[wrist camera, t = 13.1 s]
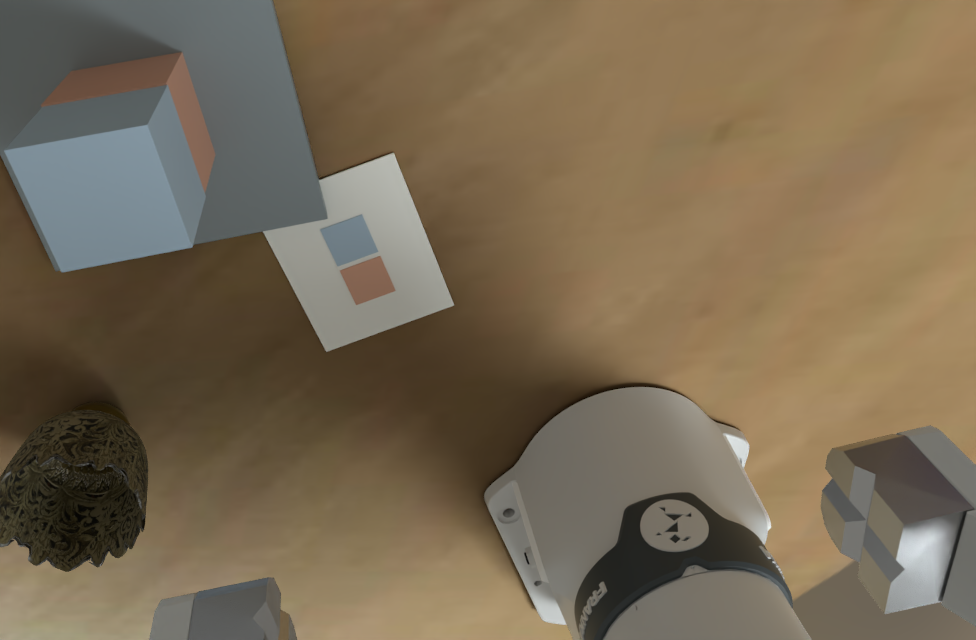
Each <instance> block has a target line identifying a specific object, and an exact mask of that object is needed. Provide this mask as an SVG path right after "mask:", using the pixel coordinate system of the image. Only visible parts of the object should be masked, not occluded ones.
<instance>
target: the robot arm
mask: <svg viewBox="0 0 976 640" xmlns="http://www.w3.org/2000/svg"><path fill="white" fill-rule="evenodd" d="M748 453H749V444H748V442H747V440H746V438H745V436H744V434H743V433H742V432H741V431H740V430H738V429H735V428H733V427H730V426H727V425H724V424H720V423H716V422H715V421H713V420H712V419H710V418H709V417H708V416H707V415H706V414H705V413H704V412H703V411H702V410H701V409H700V408H699V407H698V406H697V405H696V404H695V403H693V402H692V401H691V400H689V399H687V398H686V397H684V396H682V395H680V394H677V393H674V392H672V391H668V390H664V389H659V388H652V387H629V388H621V389H615V390H611V391H607V392H603V393H600V394H597V395H594V396H591V397H589V398H586V399H584V400H582V401H580V402H578V403H576V404H574V405H572V406H570V407H569V408H567V409H565V410H564V411H562V412H561V413H559V414H558V415H557V416H555V417H554V418H553V419H552V420H550V421H549V422H548V423H547V424H546V425H545V426H544V427H543V428H542V429H541V430H540V431H539V432H538V433H537V434H536V435H535V437H534V438H533V439H532V440H531V442H530V443H529V445H528V446H527V448H526V450H525V451H524V453H523V454H522V456H521V458H520V459H519V460H518V462H517V463H516V464H515V465H514V467H513V468H511V469H510V470H509V471H507V472H506V473H505V474H503V475H502V476H501V477H499V478H498V479H497V480H496V481H494V482H493V483H492V484H491V485H490V486H489V487H488V489H487V490H486V492H485V494H484V499H485V502H486V505H487V507H488V509H489V512H490V514H491V516H492V518H493V520H494V522H495V524H496V526H497V528H498V531H499V533H500V535H501V537H502V539H503V541H504V543H505V545H506V547H507V549H508V551H509V553H510V556H511V558H512V560H513V562H514V564H515V566H516V568H517V570H518V572H519V574H520V576H521V579H522V581H523V583H524V585H525V587H526V589H527V591H528V593H529V595H530V597H531V599H532V601H533V604H534V606H535V608H536V610H537V612H538V614H539V616H540V617H541V619H542V620H543V621H545V622H549V623H554V624H562V625H567V627H568V629H569V631H570V633H571V636H572V638H573V640H811V638H810V637H809V635H808V634H807V632H806V630H805V629H804V627H803V626H802V624H801V622H800V621H799V619H798V617H797V616H796V614H795V612H794V611H793V603H792V596H791V593H790V590H789V588H788V587H787V585H786V583H785V580H784V576H783V574H782V571H781V570H780V568H779V566H778V564H777V563H776V561H775V559H774V558H773V557H772V555H771V554H770V553H769V552H768V551H767V549H766V548H765V546H764V544H765V542H766V539H767V533H768V530H769V529H770V528H771V523H770V519H769V516H768V514H767V512H766V510H765V508H764V506H763V504H762V502H761V500H760V499H759V497H758V495H757V493H756V491H755V489H754V487H753V485H752V483H751V481H750V480H749V478H748V476H747V474H746V472H745V470H744V466H745V463H746V459H747V456H748ZM825 469H826V470H827V471H828V473H829V474H830V475H831V477H832V480H831V481H830V482H829V483H828V484H827V485H826V487H825V488H824V489H823V490H822V499H821V511H822V515H823V519H824V524H825V527H826V529H827V531H828V533H829V535H830V537H831V539H832V541H833V542H834V544H835V545H836V547H837V548H838V550H839V551H840V553H842V554H844V555H846V556H848V557H850V558H852V559H854V560H856V561H858V562H859V570H858V578H859V579H860V581H861V582H862V584H863V585H864V586H865V588H866V589H867V591H868V592H869V593H870V595H871V596H872V598H873V599H874V600H875V602H876V603H877V605H878V606H879V607H880V609H881V610H882V611H883V613H884V614H887V613H892V612H896V611H900V610H905V609H910V608H915V607H919V606H924V605H928V604H933V603H938V602H942V604H941V605H942V606H944V607H946V608H947V609H949V610H950V611H952V612H954V613H955V614H957V615H958V616H960V617H961V618H963V619H965V620H966V621H968V622H969V623H971V624H973V625H974V626H976V465H975V464H974V463H973V462H972V461H971V460H970V459H969V458H968V457H967V456H966V455H965V454H964V453H963V452H962V451H961V450H960V449H959V448H958V447H957V446H956V445H955V444H954V443H953V442H952V441H951V440H950V439H949V438H947V437H946V436H945V435H944V434H943V433H942V432H941V431H940V430H939V429H937V428H935V427H933V426H926V427H921V428H917V429H913V430H909V431H904V432H900V433H897V434H890V435H886V436H882V437H878V438H874V439H869V440H865V441H861V442H857V443H853V444H849V445H844V446H840V447H836V448H832V450H831V451H830V452H829V454H828V455H827V460H826V467H825ZM508 508H510V509H508ZM506 509H508V510H506ZM280 603H281V593H280V591H279V588H278V586H277V584H276V582H275V580H274V578H271V577H269V578H264V579H259V580H254V581H249V582H244V583H239V584H234V585H229V586H224V587H219V588H214V589H209V590H204V591H199V592H197V593H192V594H187V595H182V596H177V597H172V598H168V599H163V600H161V601H160V603H159V605H158V607H157V608H156V610H155V613H154V618H153V623H152V628H151V633H150V639H149V640H297V637H296V633H295V629H294V625H293V623H292V620H291V618H290V615H289V614H288V613H286V612H284V611H282V610H280Z"/></svg>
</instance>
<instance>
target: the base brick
mask: <svg viewBox="0 0 976 640" xmlns="http://www.w3.org/2000/svg"><path fill="white" fill-rule="evenodd" d="M164 85H168V87H169V90H170V93H171V96H172V99H173V102H174V104H175V107H176V110H177V113H178V116H179V119H180V122H181V125H182V128H183V131H184V134H185V137H186V140H187V142H188V145H189V148H190V151H191V154H192V157H193V160H194V163H195V166H196V169H197V172H198V175H199V178H200V180H201V183H202V186H203V189H204V192H205V191H206V188H207V184H208V180H209V177H210V173H211V169H212V166H213V162H214V158H215V155H216V154H215V151H214V148H213V145H212V142H211V139H210V136H209V133H208V130H207V127H206V124H205V120H204V117H203V114H202V111H201V108H200V105H199V102H198V99H197V96H196V93H195V90H194V87H193V84H192V81H191V77H190V74H189V71H188V68H187V65H186V62H185V59H184V56H183V53H182V52H179V53H173V54H167V55H161V56H156V57H150V58H144V59H138V60H133V61H127V62H121V63H115V64H109V65H104V66H98V67H92V68H86V69H81V70H75V71H71V72H70V73H69V74H68V75H67V76H66V77H65V78H64V80H63V81H62V82H61V83H60V84H59V85H58V86H57V87H56V88H55V90H54V91H53V92H52V93H51V94H50V95H49V96H48V97H47V99H46V100H45V101H44V102H43V103H42V104H41V107H44V106H50V105H56V104H61V103H67V102H73V101H78V100H84V99H90V98H95V97H101V96H107V95H112V94H118V93H124V92H129V91H135V90H141V89H147V88H152V87H158V86H164Z"/></svg>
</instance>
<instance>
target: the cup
mask: <svg viewBox="0 0 976 640" xmlns="http://www.w3.org/2000/svg"><path fill="white" fill-rule="evenodd" d="M147 487H148V461H147V455H146V450H145V447H144V445H143V443H142V440H141V439H140V437H139V435H138V434H137V433H136V432H135V430H134V429H133V428H132V427H131V426H130V424H129V421H128V419H127V417H126V416H125V414H124V413H123V412H122V411H121V410H120V409H118V408H117V407H115V406H113V405H110V404H107V403H103V402H89V403H85V404H82V405H80V406H78V407H76V408H74V409H73V410H71V411H70V412H67V413H63V414H60V415H57V416H55V417H53V418H51V419H49V420H48V421H46V422H45V423H43V424H42V425H40V426H39V427H38V428H37V429H36V430H35V431H34V432H33V433H32V434H31V435H30V436H29V437H28V438H27V439H26V440H25V442H24V443H23V444H22V446H21V447H20V448H19V450H18V451H17V453H16V454H15V456H14V457H13V458H12V460H11V461H10V463H9V464H8V466H7V467H6V469H5V470H4V472H3V473H2V475H1V476H0V547H4V546H8V545H9V544H10V543H11V542H13V541H14V540H11V539H12V538H13V539H15V540H16V541H17V543H18V545H19V546H20V547H23V546H24V547H25V546H26V547H28V548H29V553H30V554H29V557H28V560H29V561H30V562H31V563H32V564H33V565H35V566H37V565H40V564H42V563H43V562H45V561H46V560H48V561H49V562H50V564H51V565H52V566H53V567H55V568H57V569H60V570H63V571H65V572H69V571H71V570H73V569H75V568H77V567H78V566H80V565H82V564H83V563H84V562H85V561H87V560H89V559H90V558H91V561H92V562H93V563H91V562H89V563H91V564H92V565H94V566H96V567H100V566H101V565H102V564H103V562H104V560H105V557H106V555H107V553H108V551H110V553H111V555H112V556H114V557H115V558H120V557H122V556H123V555H124V554H125V552H126V551H127V548H128V547H129V549H132V548H133V546H134V544H135V541H136V539H137V536H138V535H139V533H140V528H141V530H142V532H143V530H144V526H145V515H146V501H147ZM109 549H110V550H109Z"/></svg>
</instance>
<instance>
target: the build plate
mask: <svg viewBox="0 0 976 640" xmlns="http://www.w3.org/2000/svg"><path fill="white" fill-rule="evenodd" d="M179 52H182V53H183V56H184V59H185V62H186V65H187V68H188V71H189V74H190V77H191V81H192V84H193V87H194V90H195V93H196V96H197V99H198V102H199V105H200V108H201V111H202V114H203V117H204V120H205V124H206V127H207V130H208V133H209V136H210V139H211V142H212V145H213V148H214V151H215V154H216V155H215V158H214V162H213V166H212V169H211V173H210V177H209V180H208V184H207V188H206V191H205V195H206V198H205V202H204V206H203V209H202V213H201V217H200V221H199V224H198V228H197V232H196V236H195V239H194V243H193V245H195V244H200V243H205V242H211V241H216V240H221V239H226V238H231V237H237V236H242V235H247V234H252V233H257V232H263V231H268V230H273V229H278V228H283V227H289V226H294V225H299V224H304V223H309V222H314V221H320V220H325V219H328V214H327V210H326V206H325V202H324V198H323V194H322V190H321V186H320V182H319V178H318V174H317V170H316V166H315V162H314V158H313V154H312V151H311V147H310V143H309V139H308V135H307V131H306V127H305V123H304V119H303V115H302V112H301V108H300V104H299V100H298V96H297V92H296V88H295V84H294V80H293V77H292V73H291V69H290V65H289V61H288V57H287V53H286V49H285V45H284V41H283V38H282V34H281V30H280V26H279V22H278V18H277V14H276V10H275V6H274V2H273V0H0V155H1V158H2V160H3V162H4V164H5V166H6V168H7V170H8V172H9V174H10V176H11V179H12V181H13V183H14V185H15V187H16V189H17V191H18V193H19V195H20V197H21V199H22V202H23V204H24V206H25V208H26V210H27V212H28V214H29V216H30V218H31V220H32V222H33V225H34V227H35V229H36V231H37V233H38V235H39V237H40V239H41V241H42V243H43V246H44V248H45V250H46V252H47V254H48V256H49V258H50V260H51V262H52V264H53V266H54V269H55V271H60V268H59V266H58V264H57V262H56V259H55V257H54V255H53V253H52V251H51V249H50V247H49V245H48V243H47V240H46V238H45V236H44V234H43V232H42V230H41V228H40V226H39V224H38V221H37V219H36V217H35V215H34V213H33V211H32V209H31V207H30V205H29V202H28V200H27V198H26V196H25V194H24V192H23V190H22V188H21V186H20V183H19V181H18V179H17V177H16V175H15V173H14V171H13V169H12V166H11V164H10V162H9V160H8V158H7V156H6V154H5V152H4V150H5V149H6V148H7V147H8V145H9V144H10V143H11V142H12V141H13V140H14V139H15V138H16V136H17V135H18V134H19V133H20V132H21V131H22V130H23V128H24V127H25V126H26V125H27V124H28V123H29V122H30V120H31V119H32V118H33V117H34V116H35V115H36V114H37V113H38V111H39V110H40V109H41V108H42V107H41V104H42V103H43V102H44V101H45V100H46V99H47V97H48V96H49V95H50V94H51V93H52V92H53V91H54V90H55V88H56V87H57V86H58V85H59V84H60V83H61V82H62V81H63V80H64V78H65V77H66V76H67V75H68V74H69V73H70V72H71V71H75V70H81V69H86V68H92V67H98V66H104V65H109V64H115V63H121V62H127V61H133V60H138V59H144V58H150V57H156V56H161V55H167V54H173V53H179Z"/></svg>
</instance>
